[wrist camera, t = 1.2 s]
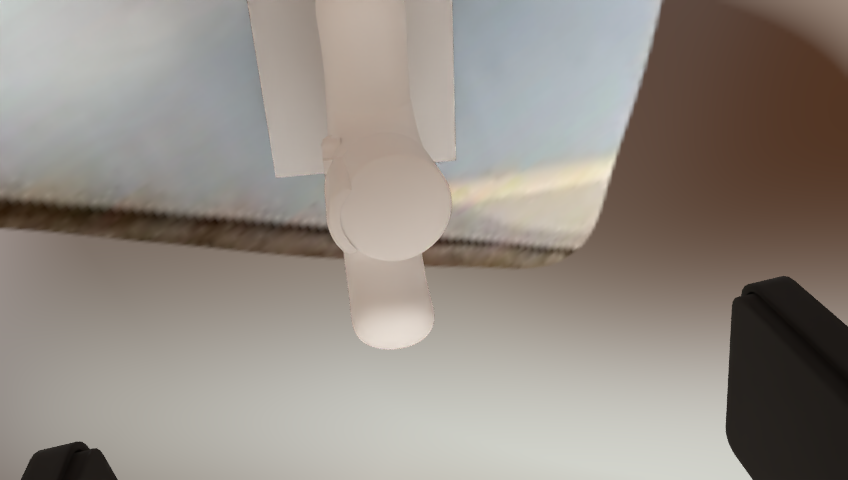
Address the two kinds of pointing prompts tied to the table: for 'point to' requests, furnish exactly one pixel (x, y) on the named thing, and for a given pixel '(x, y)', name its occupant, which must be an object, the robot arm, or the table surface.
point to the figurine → (367, 139)
